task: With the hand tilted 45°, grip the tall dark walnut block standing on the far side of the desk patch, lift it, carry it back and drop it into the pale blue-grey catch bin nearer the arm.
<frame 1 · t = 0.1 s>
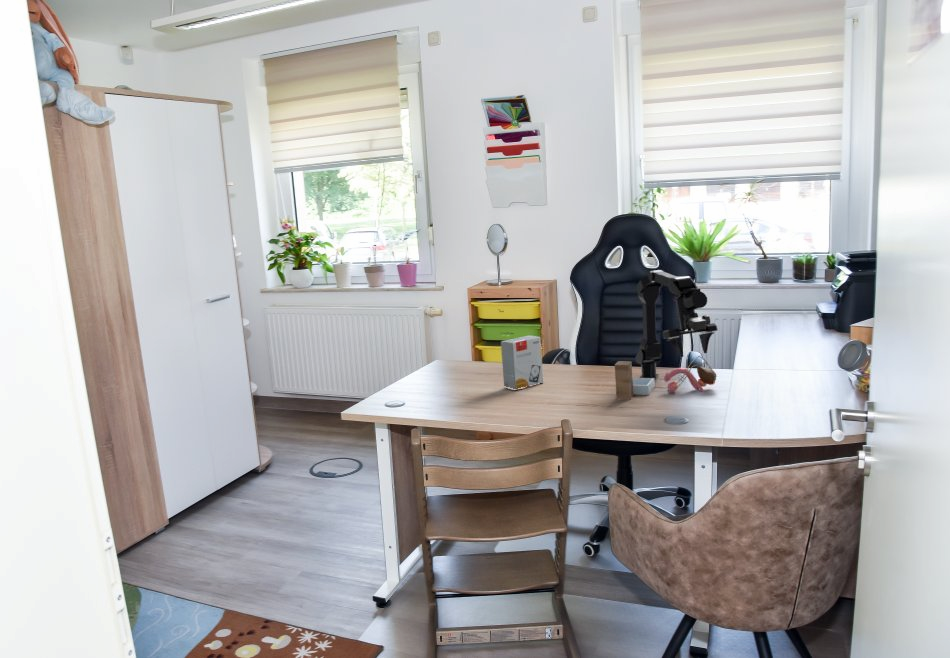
hand: (693, 355, 244), 15 cm above the table, tool pointing down, fingers open, 9 cm apart
anatomy model: (690, 390, 256), on the table
catch bin: (637, 390, 262), on the table
walnut block: (625, 397, 255), on the table
hard drive box: (524, 386, 284), on the table
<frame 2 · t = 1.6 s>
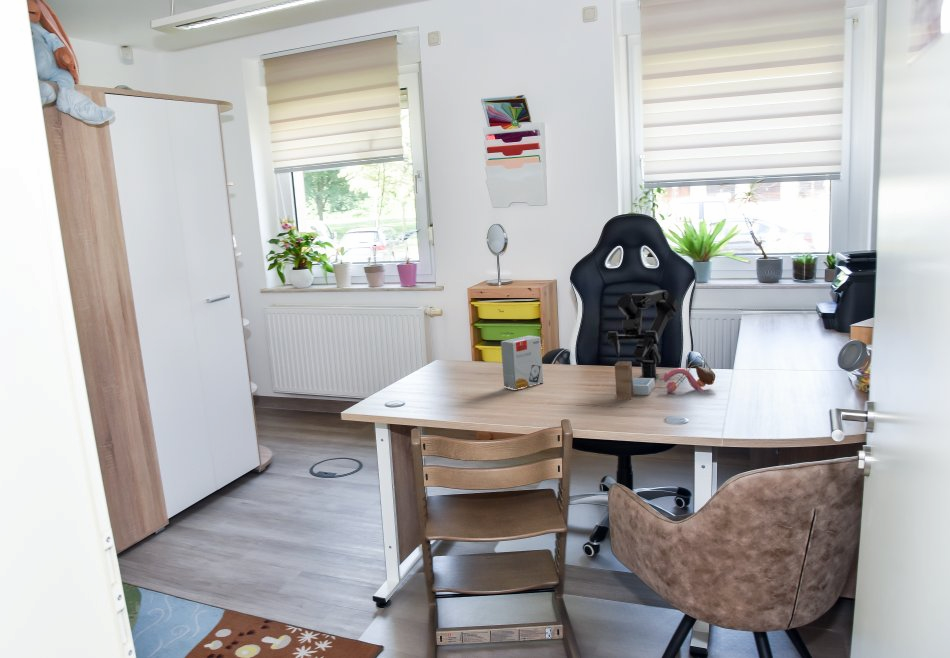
hand: (629, 356, 259), 13 cm above the table, tool tilted 45°, fingers open, 9 cm apart
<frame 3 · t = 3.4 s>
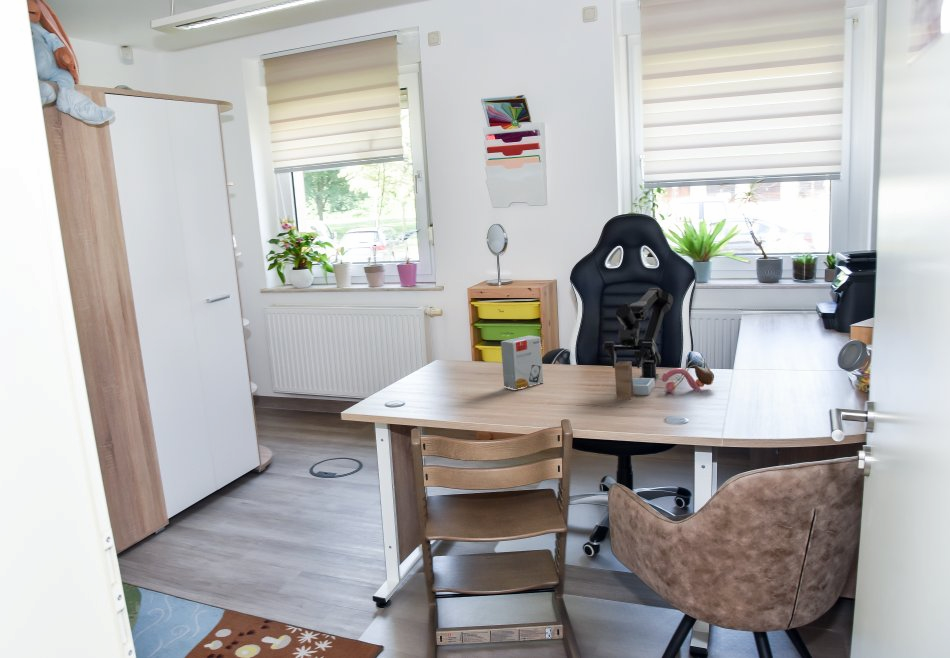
hand: (625, 367, 256), 10 cm above the table, tool tilted 45°, fingers open, 9 cm apart
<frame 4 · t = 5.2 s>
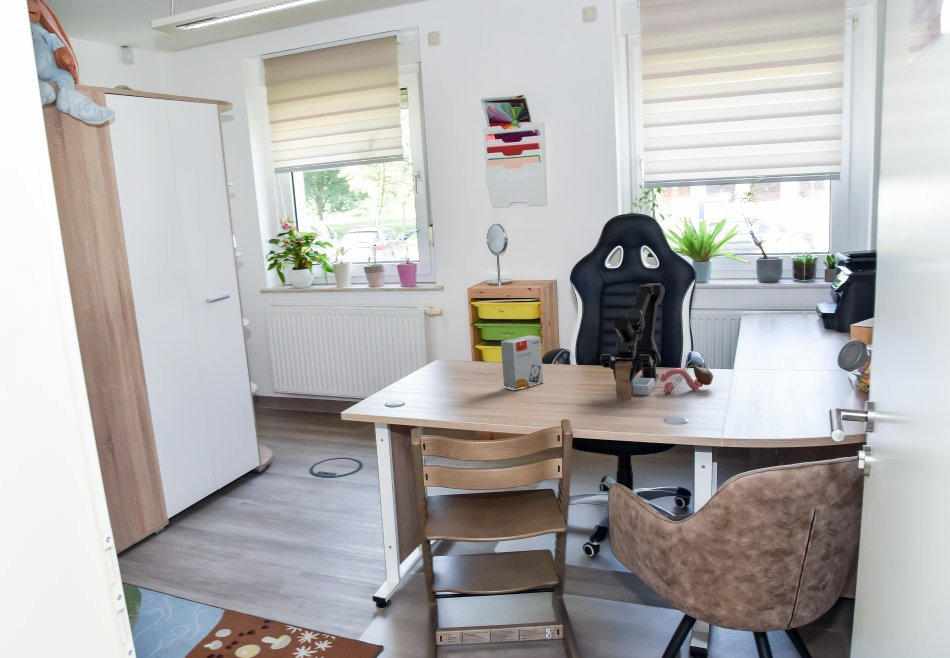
hand: (623, 380, 252), 7 cm above the table, tool tilted 45°, fingers closed on walnut block, 5 cm apart
walnut block: (625, 397, 255), on the table, touching gripper
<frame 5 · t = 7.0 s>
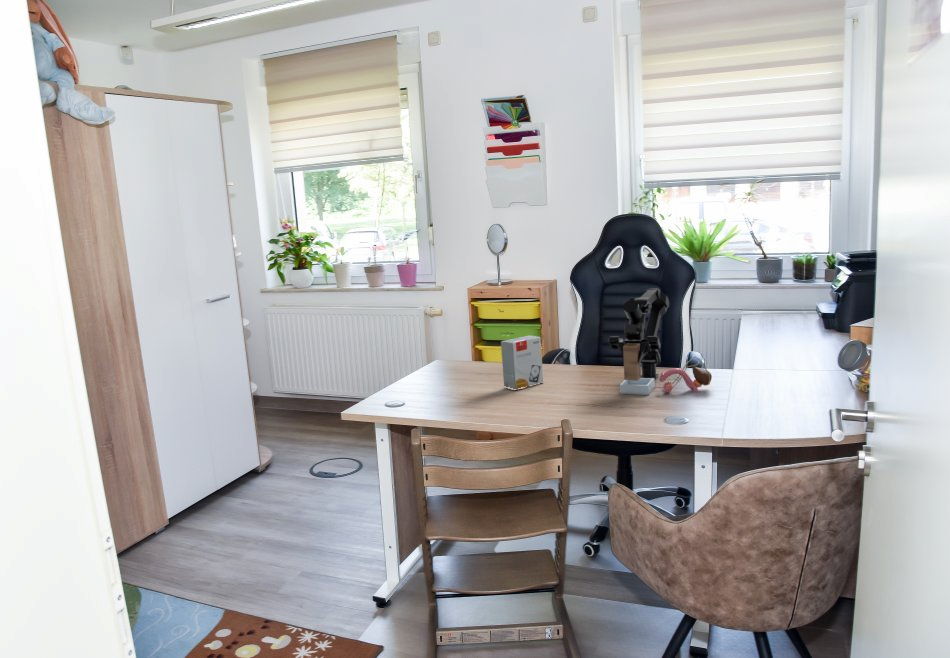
hand: (631, 362, 257), 12 cm above the table, tool tilted 45°, fingers closed on walnut block, 5 cm apart
walnut block: (632, 378, 259), point 5 cm above the table, touching gripper
when the fingers open (8 cm above the table, at t = 9.1 s): walnut block stays where it is, resting on catch bin.
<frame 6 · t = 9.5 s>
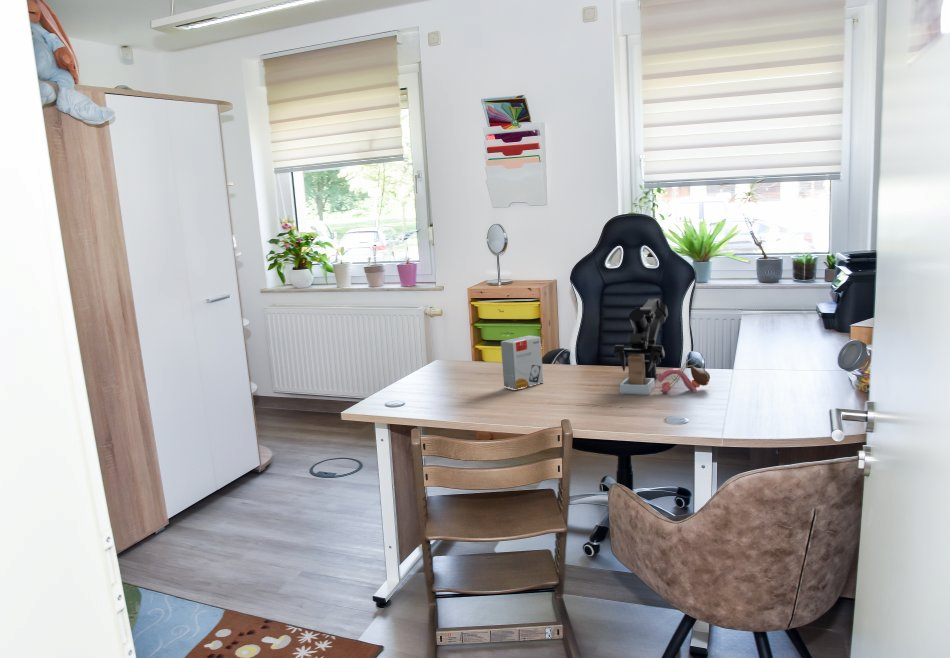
hand: (635, 370, 259), 8 cm above the table, tool tilted 45°, fingers open, 9 cm apart
walnut block: (637, 388, 262), point 1 cm above the table, touching catch bin
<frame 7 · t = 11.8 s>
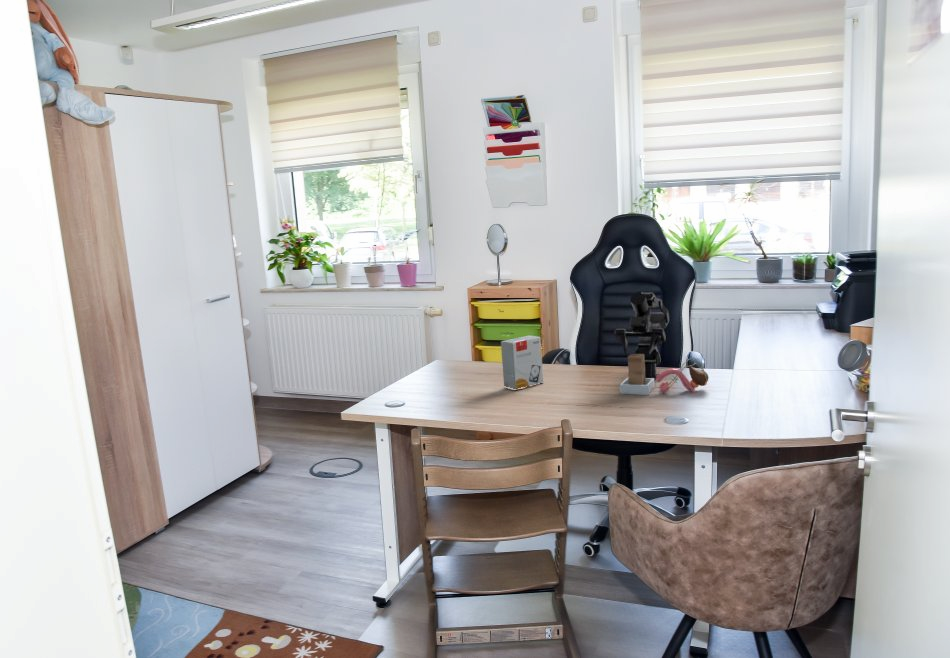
hand: (637, 353, 262), 14 cm above the table, tool tilted 45°, fingers open, 9 cm apart
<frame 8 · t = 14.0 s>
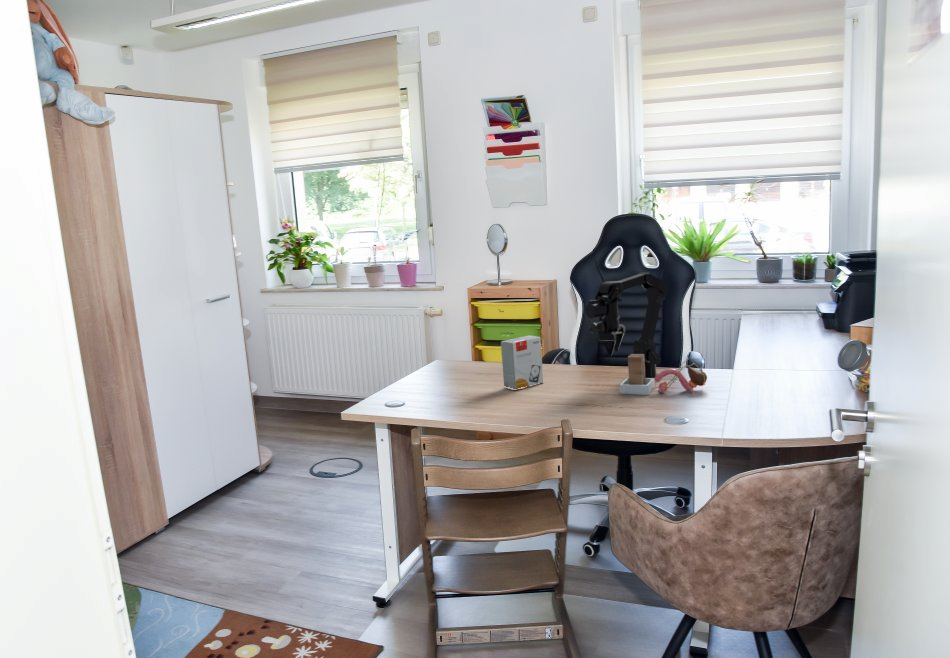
hand: (613, 354, 269), 13 cm above the table, tool pointing down, fingers open, 9 cm apart
at the end: walnut block 0.1 cm off-centre on the catch bin, point 0.6 cm above the catch bin's base; the gripper is holding nothing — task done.
